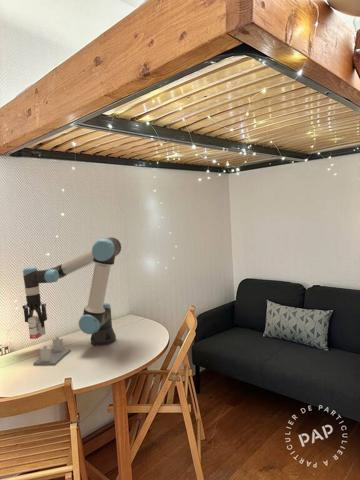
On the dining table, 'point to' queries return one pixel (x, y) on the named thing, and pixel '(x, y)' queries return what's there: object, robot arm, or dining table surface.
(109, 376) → the dining table surface
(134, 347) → the dining table surface
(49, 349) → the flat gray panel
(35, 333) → the ink box
